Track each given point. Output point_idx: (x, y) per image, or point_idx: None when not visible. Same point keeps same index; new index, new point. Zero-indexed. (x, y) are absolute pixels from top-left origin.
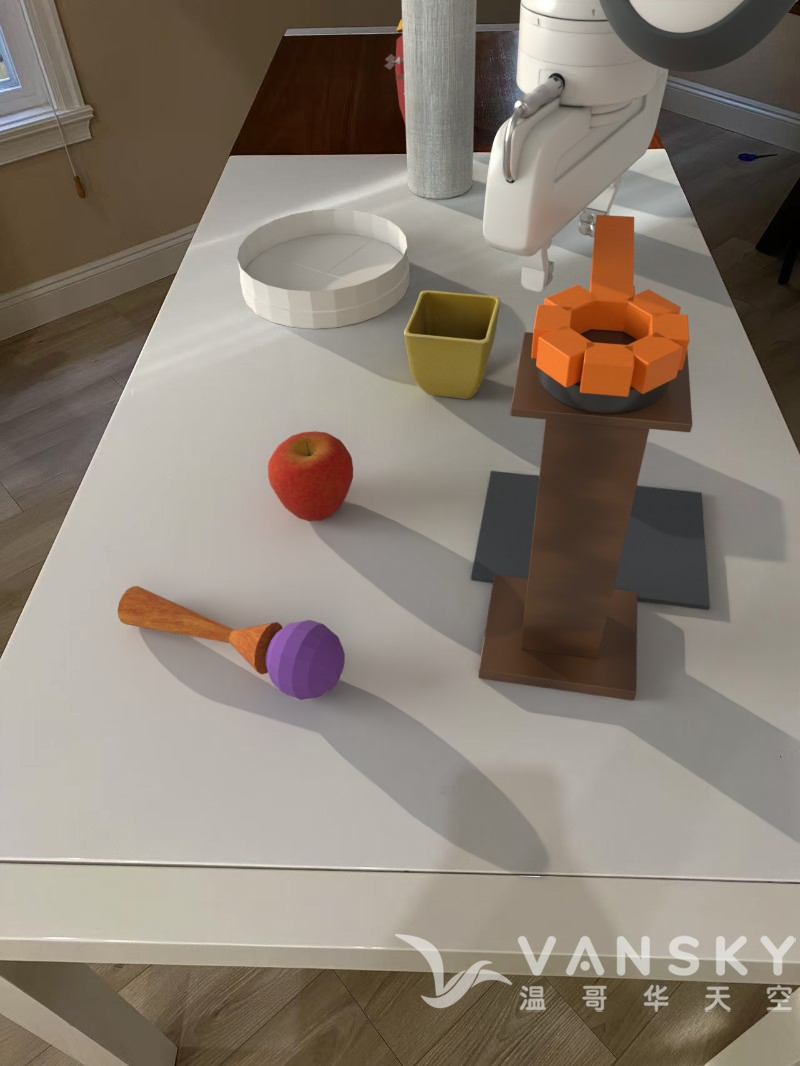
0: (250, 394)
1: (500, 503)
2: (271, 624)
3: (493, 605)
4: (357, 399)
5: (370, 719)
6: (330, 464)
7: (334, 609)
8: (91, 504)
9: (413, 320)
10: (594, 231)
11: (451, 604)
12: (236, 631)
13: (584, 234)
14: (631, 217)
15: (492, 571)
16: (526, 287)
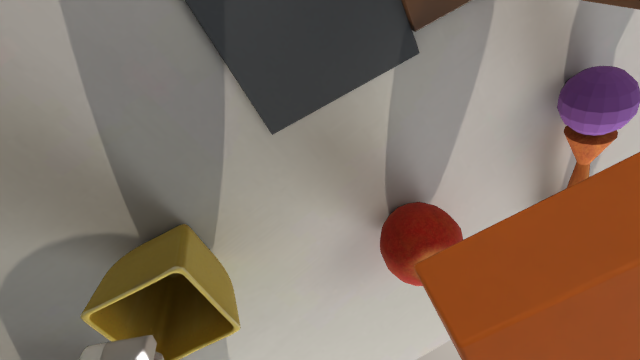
0: (322, 342)
1: (310, 95)
2: (593, 144)
3: (454, 5)
4: (267, 289)
5: (593, 22)
6: (438, 238)
7: (500, 127)
8: None
9: (208, 340)
10: (149, 354)
11: (453, 47)
12: (589, 161)
13: (162, 358)
14: (478, 349)
15: (403, 39)
16: None
